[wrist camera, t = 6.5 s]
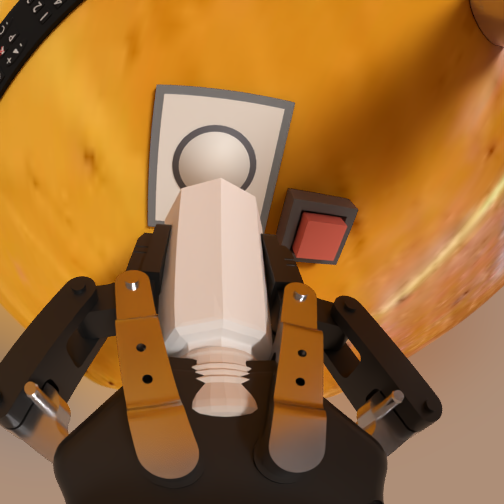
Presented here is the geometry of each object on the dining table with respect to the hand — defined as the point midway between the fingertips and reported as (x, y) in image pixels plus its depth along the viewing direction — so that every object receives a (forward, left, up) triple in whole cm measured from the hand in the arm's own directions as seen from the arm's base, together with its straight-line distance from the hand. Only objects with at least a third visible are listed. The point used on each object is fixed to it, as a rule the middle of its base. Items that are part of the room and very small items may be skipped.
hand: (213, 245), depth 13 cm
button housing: (-11, +5, -14) cm, 18 cm away
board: (0, 0, -14) cm, 14 cm away
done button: (-11, +5, -12) cm, 17 cm away
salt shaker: (0, 0, -2) cm, 2 cm away
